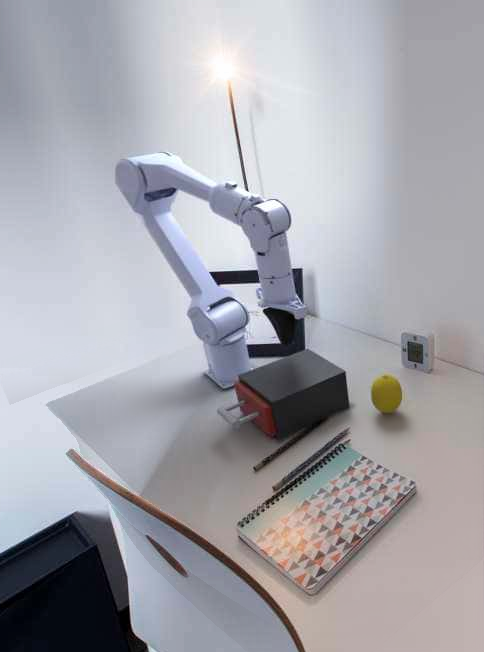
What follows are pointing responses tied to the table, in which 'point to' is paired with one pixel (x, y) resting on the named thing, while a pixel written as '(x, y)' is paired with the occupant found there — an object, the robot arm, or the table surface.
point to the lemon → (386, 393)
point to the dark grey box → (299, 390)
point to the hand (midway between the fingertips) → (287, 343)
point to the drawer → (250, 410)
